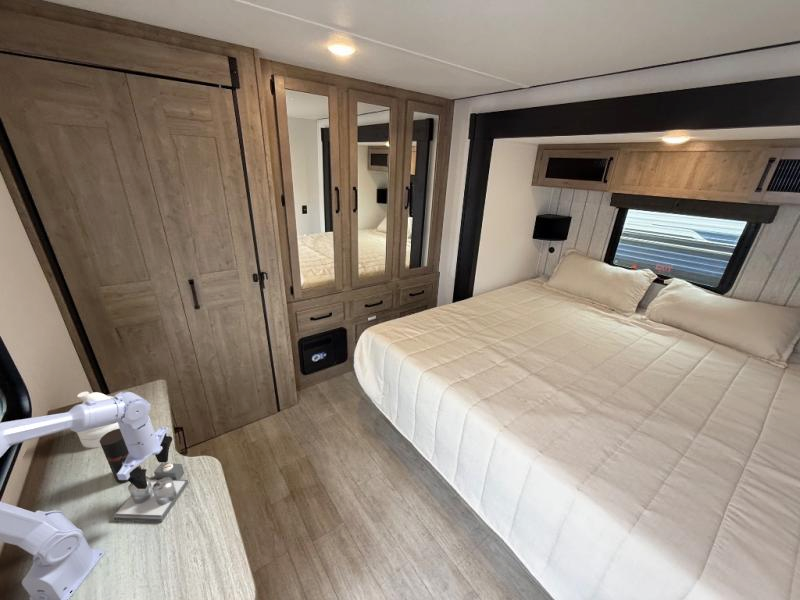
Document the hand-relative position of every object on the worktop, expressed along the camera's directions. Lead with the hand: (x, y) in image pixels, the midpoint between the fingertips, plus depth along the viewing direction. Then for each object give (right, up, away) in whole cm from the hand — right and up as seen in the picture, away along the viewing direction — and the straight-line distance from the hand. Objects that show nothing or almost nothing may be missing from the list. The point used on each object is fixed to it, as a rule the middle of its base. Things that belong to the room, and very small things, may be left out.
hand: (153, 474), depth 82 cm
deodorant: (-15, -6, +10) cm, 19 cm away
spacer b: (+1, -8, +3) cm, 9 cm away
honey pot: (-35, +1, +23) cm, 42 cm away
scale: (-3, -9, +5) cm, 10 cm away
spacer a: (-5, -8, +3) cm, 9 cm away
